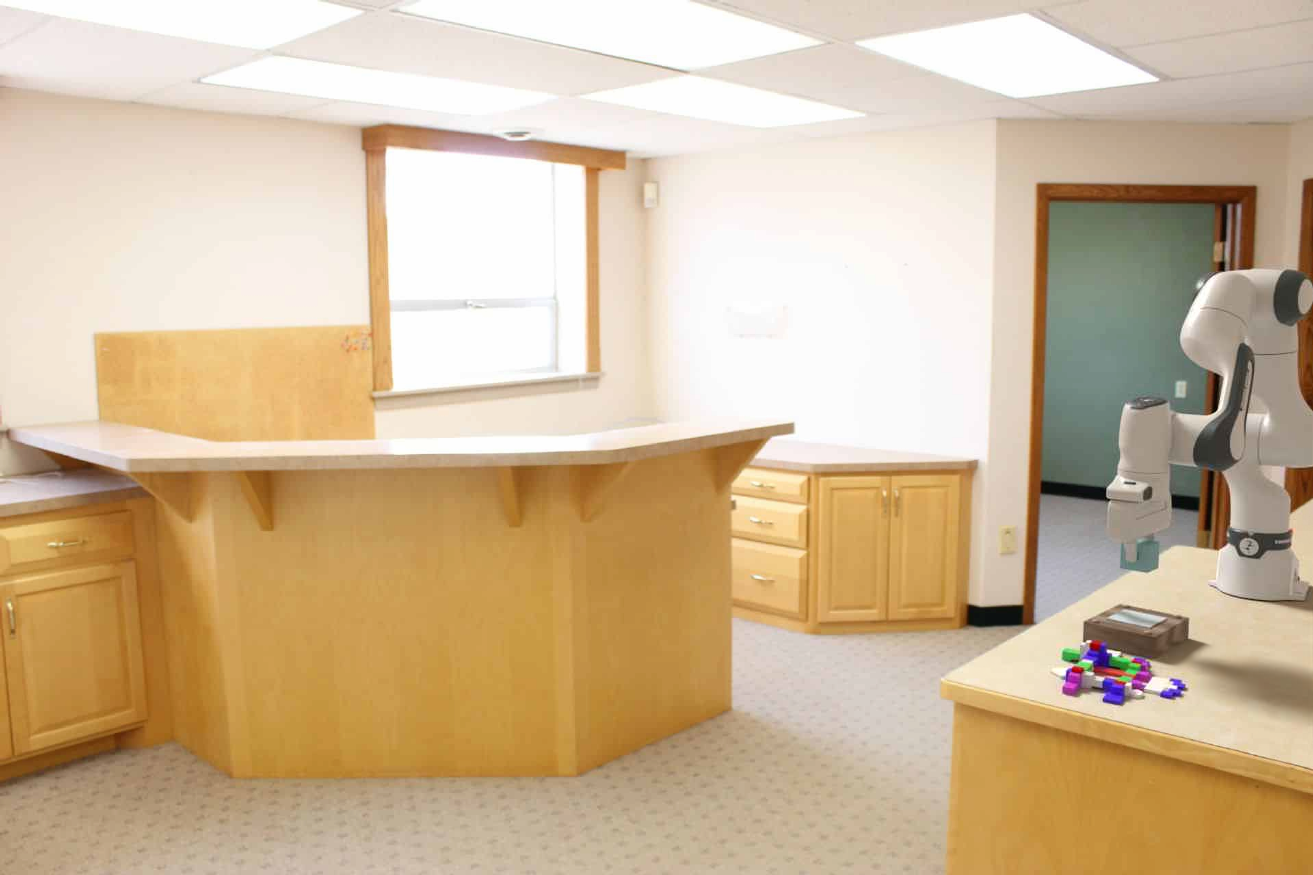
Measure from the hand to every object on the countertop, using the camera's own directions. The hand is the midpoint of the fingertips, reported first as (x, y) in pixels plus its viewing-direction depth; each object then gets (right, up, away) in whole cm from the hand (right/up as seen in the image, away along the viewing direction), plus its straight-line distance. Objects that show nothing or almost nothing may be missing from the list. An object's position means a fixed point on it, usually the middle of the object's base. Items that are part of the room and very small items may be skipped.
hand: (1139, 558), depth 196 cm
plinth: (0, -16, +2) cm, 16 cm away
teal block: (0, -2, 0) cm, 2 cm away
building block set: (-12, -19, -17) cm, 28 cm away
